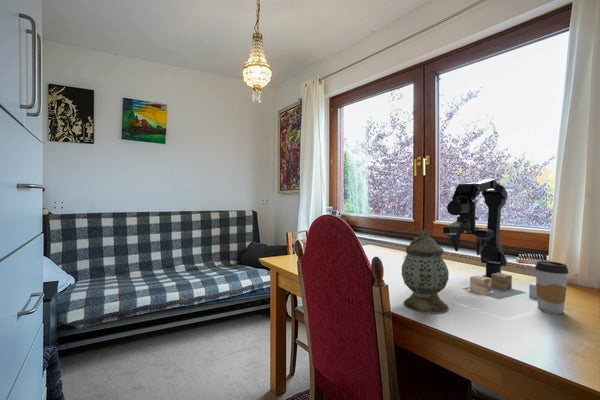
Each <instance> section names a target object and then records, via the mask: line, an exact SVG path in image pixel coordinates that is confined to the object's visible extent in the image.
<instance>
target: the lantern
mask: <svg viewBox="0 0 600 400" xmlns="http://www.w3.org/2000/svg"><path fill="white" fill-rule="evenodd" d="M405 248H406V249H405V250H406V251H405V253H406V254H405V256H403V259H404V260H403V263H402V265H401V277H402V280H403V283H404V285H405V286H406V287H407V288H408V289H409V290H410V291H411V292H412V294H411V295H410V296H409V297H408V298H406V299H405V300H404V301H403V303H404V305H403V306H405V307H406V308H407V309H409V310H410V311H411V310H412V311H414V312H417V313H423V314H428V315H429V314H430V315H440V314H445V313H448V311H449V306H448V305H447V304H446V302H444V300H442V299H441V298H440V297H439V294H438V293H440V292H441V291H442V290H444V289H445V288H446V285H447V283H448V281H449V274H450V273H449V269H448V266H447V264H446V262H445V261H444V259H443V258H442V256H443V255H444V252H445V251H444V249H443V248H442V247H441V246H440V245H439V244H438V243H437V242H436V240H435V239H434V238H433V237H431V236H430V232H429V230H427V229H422V230H421V232H420V234H419V236H416V237H414V239H413V241H411V242H410V244H409V245H407V246H405Z"/></svg>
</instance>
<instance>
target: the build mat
mask: <svg viewBox="0 0 600 400" xmlns="http://www.w3.org/2000/svg"><path fill="white" fill-rule="evenodd" d="M461 289H462V290H465V291H468V292H472V293H475V294H479V295H483V296H486V297H490V298H493V299H496V300H501V299H506V298H510V297H514V296H518V295H522V294H526V293H527V292H526V291H522V290H520V289H519V290H518V289H515V288H511V289H506V290H503V289H499V288H495V287H491V292H487V293H480V292H476V291H472V290H470V286H467V287H464V288H461Z"/></svg>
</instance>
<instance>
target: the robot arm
mask: <svg viewBox="0 0 600 400" xmlns="http://www.w3.org/2000/svg"><path fill="white" fill-rule="evenodd" d="M480 193H481V196H482V198H483V199H484V203H485V206H487V223H486V224H487V225H486V226H487V227H486V229H485V228H481V229H478V227H477V226H476V220H478V219H479V218H478V216H476V207H477V206H476V205H477V204H478V200H477V197H478V196H480ZM507 199H508V192H507V190H506V188H505V187H504V186H503V185H501V184H499V183H498V182H497V180H496V179H493V178H491V179H490V178H489V179H482V180H480V181H475V182H462V183H461V182H460V183H458V184H457V186H456V188H455V190H454V192H453V195H452V197H451V201H449V202H448V204H447V206H446V210H447V212H448V214H450V215H452V216H456V221H453V222H452V223H450V224H448V225H445V226H443V228H442V233H443V234H445V236H448V238H449V239H450V241H451V243H452V246H453V248H454V251H455V252H458V251H459V247H460V241H461V235H462V234H463V235H464V234H465V235H473V236H475V238H474V240H475V241H476V256H480V261H481V263H482V264H485V274H484V275H482V276H483V277H488V278H491V274H494V273H502V267H507V263H508V259H507V257H506V256H505V254H504V248H503V246H502V244H501V242H500V232H501V218H502V217H501V216H502V214H501V213H502V212H501V211H502V209H503V207H504V206H505V205H506V203H507Z"/></svg>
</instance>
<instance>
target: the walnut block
mask: <svg viewBox="0 0 600 400" xmlns="http://www.w3.org/2000/svg"><path fill="white" fill-rule="evenodd" d="M512 278H513V275H511V274H507V273H503V272H501V273H494V274H491V287H495V288H499V289H503V290H506V289H513V287H512V286H513V282H512V281H513V279H512Z"/></svg>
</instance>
